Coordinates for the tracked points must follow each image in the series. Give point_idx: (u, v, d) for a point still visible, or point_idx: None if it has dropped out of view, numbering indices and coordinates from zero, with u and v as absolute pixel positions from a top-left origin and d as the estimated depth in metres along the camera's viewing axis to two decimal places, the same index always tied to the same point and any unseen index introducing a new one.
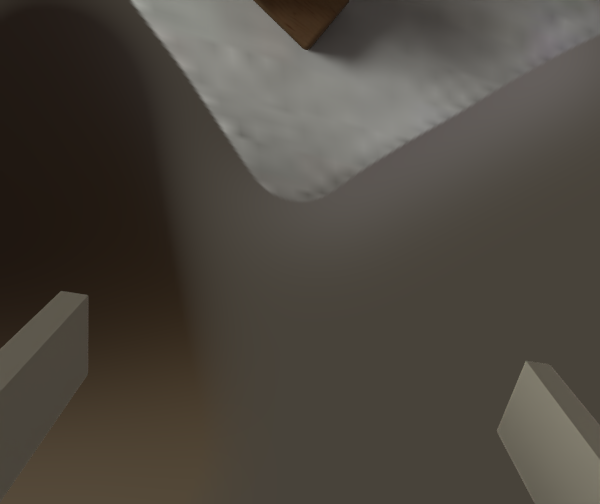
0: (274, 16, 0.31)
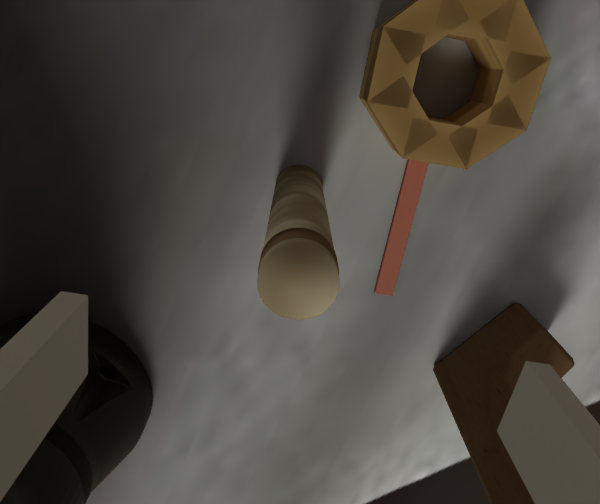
0: None
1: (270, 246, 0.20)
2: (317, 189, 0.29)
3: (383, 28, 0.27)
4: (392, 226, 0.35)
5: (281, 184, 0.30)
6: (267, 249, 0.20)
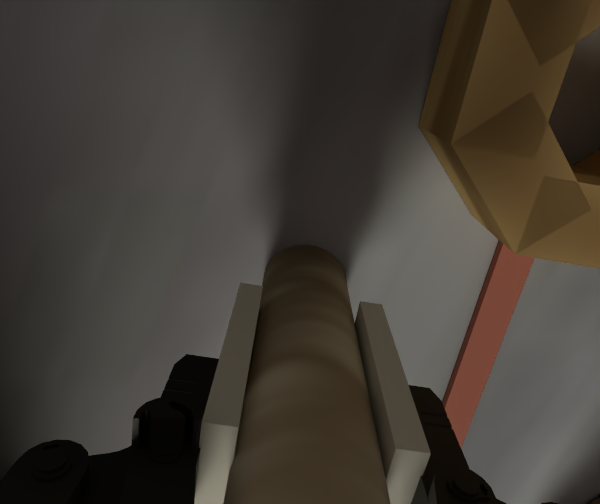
0: None
1: None
2: (343, 321, 0.14)
3: None
4: (467, 346, 0.20)
5: (271, 303, 0.15)
6: None
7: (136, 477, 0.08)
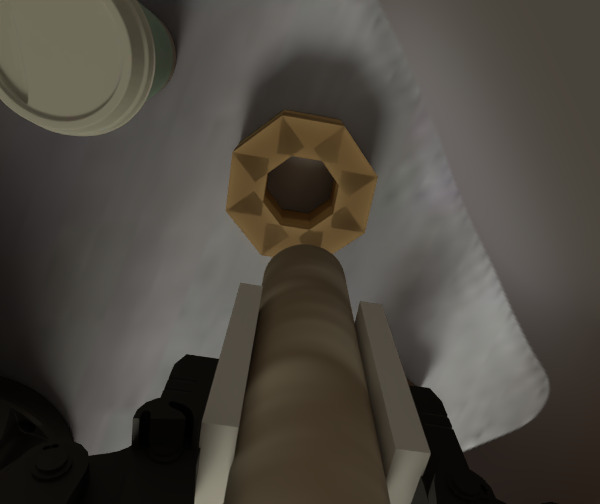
0: None
1: None
2: (343, 319, 0.14)
3: (233, 153, 0.32)
4: None
5: (271, 301, 0.15)
6: None
7: (136, 477, 0.08)
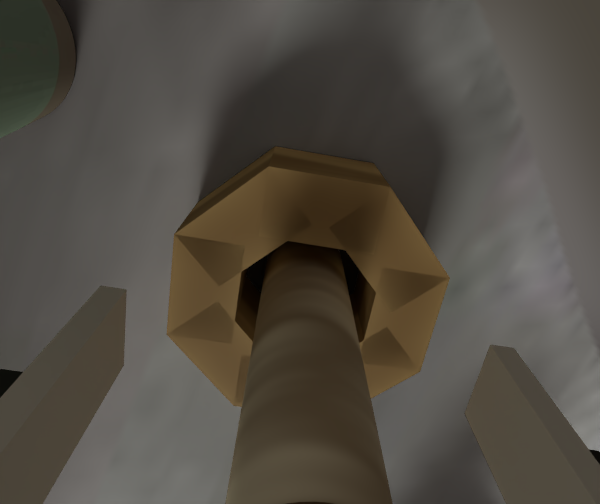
0: None
1: None
2: (339, 291, 0.16)
3: (175, 236, 0.17)
4: None
5: (274, 277, 0.17)
6: None
7: None
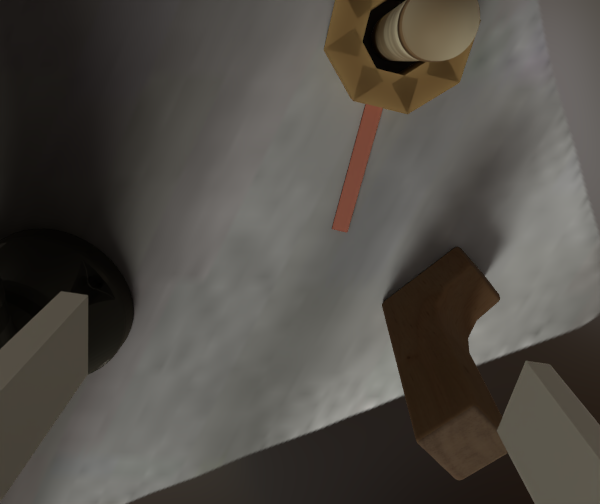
0: (474, 323, 0.40)
1: None
2: None
3: None
4: (348, 168, 0.40)
5: None
6: None
7: None
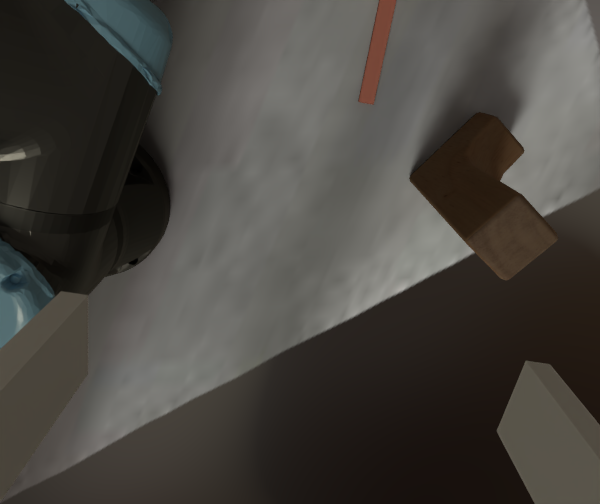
0: (501, 176, 0.42)
1: None
2: None
3: None
4: (372, 37, 0.42)
5: None
6: None
7: None
